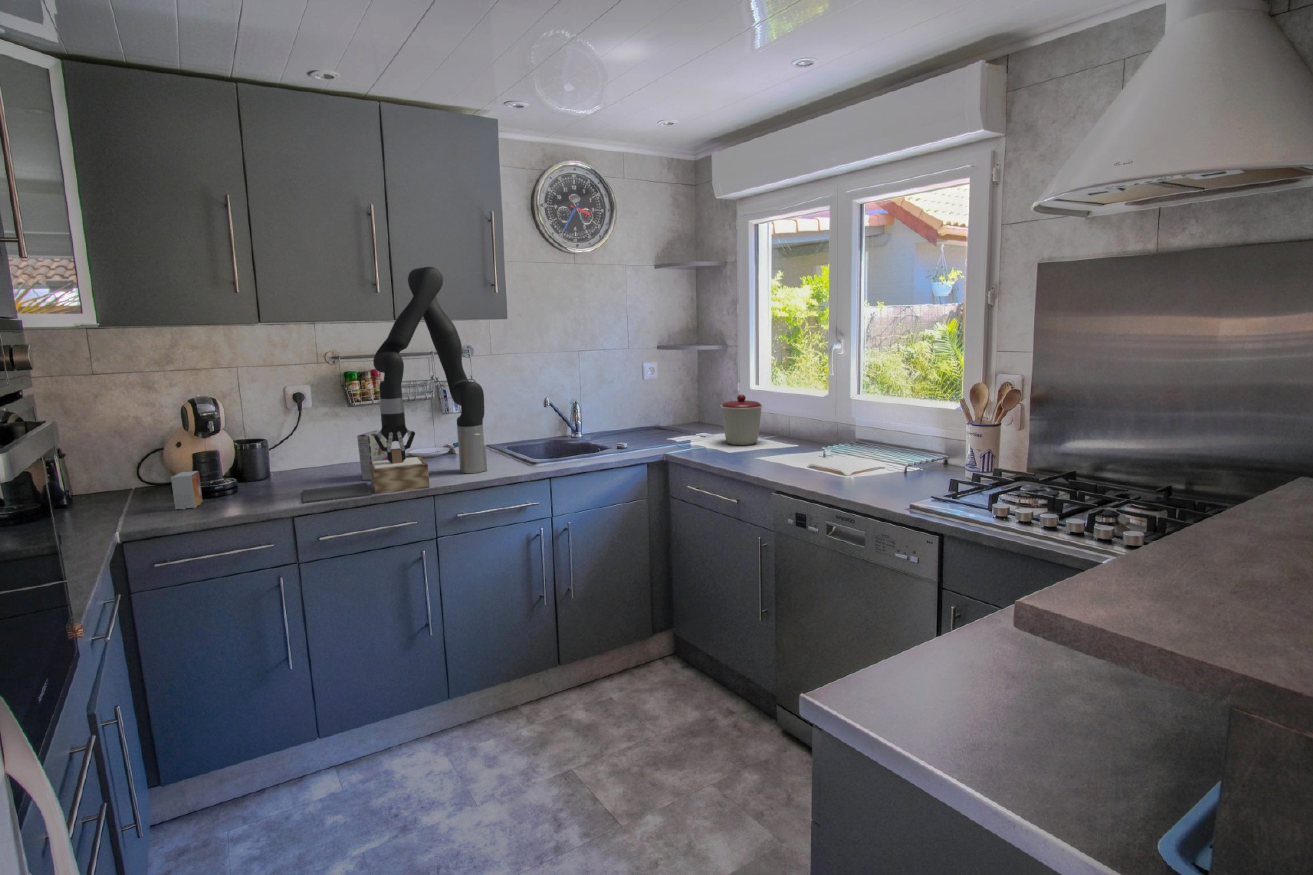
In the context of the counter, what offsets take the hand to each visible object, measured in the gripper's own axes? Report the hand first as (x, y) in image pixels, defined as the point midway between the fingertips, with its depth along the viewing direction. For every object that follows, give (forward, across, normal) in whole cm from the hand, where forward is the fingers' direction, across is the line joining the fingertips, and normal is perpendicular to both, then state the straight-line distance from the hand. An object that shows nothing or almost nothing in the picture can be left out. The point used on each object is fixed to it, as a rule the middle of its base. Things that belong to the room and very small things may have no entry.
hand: (396, 461), depth 247 cm
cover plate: (+1, 0, 0) cm, 1 cm away
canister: (+9, -140, -5) cm, 141 cm away
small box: (+9, +62, -6) cm, 63 cm away
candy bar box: (+9, +6, -20) cm, 23 cm away
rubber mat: (+8, +20, 0) cm, 21 cm away
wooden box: (+8, 0, 0) cm, 8 cm away
